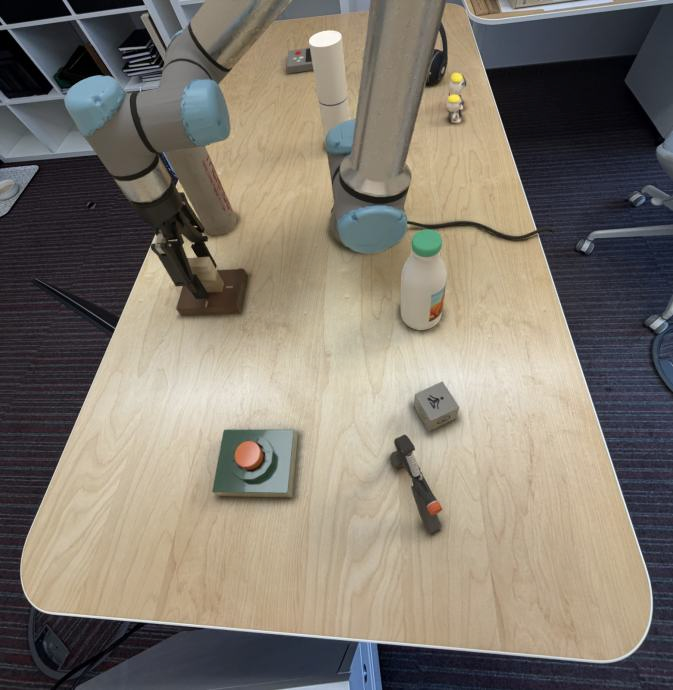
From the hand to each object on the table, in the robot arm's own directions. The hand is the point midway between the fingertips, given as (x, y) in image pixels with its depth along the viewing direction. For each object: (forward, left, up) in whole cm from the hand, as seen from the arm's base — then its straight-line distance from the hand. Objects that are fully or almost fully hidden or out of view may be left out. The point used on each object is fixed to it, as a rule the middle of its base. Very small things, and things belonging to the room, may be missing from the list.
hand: (206, 281), depth 84 cm
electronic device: (-14, -95, -5) cm, 96 cm away
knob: (0, 0, -2) cm, 2 cm away
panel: (0, 0, -5) cm, 5 cm away
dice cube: (-44, +27, -5) cm, 52 cm away
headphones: (-46, -79, -5) cm, 92 cm away
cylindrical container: (-25, -49, -5) cm, 55 cm away
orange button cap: (-15, +36, 0) cm, 39 cm away
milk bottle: (-43, +7, -5) cm, 44 cm away
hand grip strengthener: (-40, +40, -5) cm, 57 cm away
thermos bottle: (+3, -22, -5) cm, 23 cm away
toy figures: (-56, -59, -5) cm, 81 cm away
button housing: (-15, +36, -5) cm, 39 cm away
